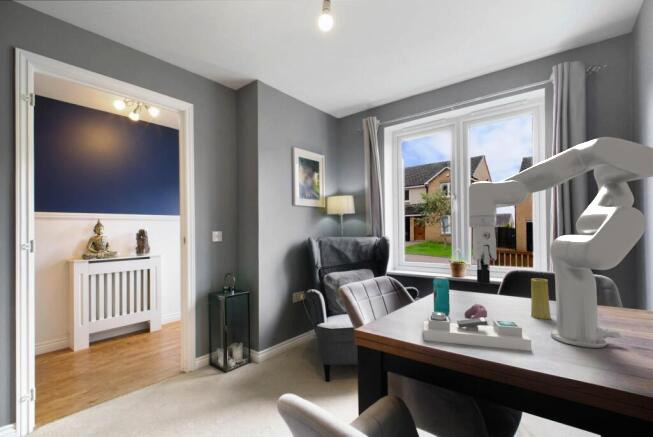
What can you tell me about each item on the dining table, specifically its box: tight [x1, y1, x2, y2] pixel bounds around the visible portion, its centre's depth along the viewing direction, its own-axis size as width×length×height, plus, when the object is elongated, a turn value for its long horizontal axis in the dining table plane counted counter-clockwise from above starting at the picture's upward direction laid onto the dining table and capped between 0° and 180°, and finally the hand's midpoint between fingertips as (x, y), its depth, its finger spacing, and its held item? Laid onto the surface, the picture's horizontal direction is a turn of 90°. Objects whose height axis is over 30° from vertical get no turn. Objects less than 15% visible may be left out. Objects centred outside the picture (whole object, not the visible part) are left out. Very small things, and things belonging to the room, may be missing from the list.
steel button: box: [431, 311, 445, 321], centre depth 93 cm, size 4×4×2 cm
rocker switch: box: [456, 317, 489, 328], centre depth 90 cm, size 8×4×1 cm, turn 73°
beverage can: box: [432, 275, 451, 318], centre depth 115 cm, size 6×6×15 cm
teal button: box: [499, 322, 515, 327], centre depth 87 cm, size 4×4×2 cm
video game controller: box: [463, 303, 488, 319], centre depth 109 cm, size 10×5×7 cm, turn 169°
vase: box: [530, 277, 552, 320], centre depth 113 cm, size 6×6×14 cm
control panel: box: [423, 314, 532, 352], centre depth 90 cm, size 28×10×6 cm, turn 73°
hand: (483, 282), depth 89 cm, fingers closed
